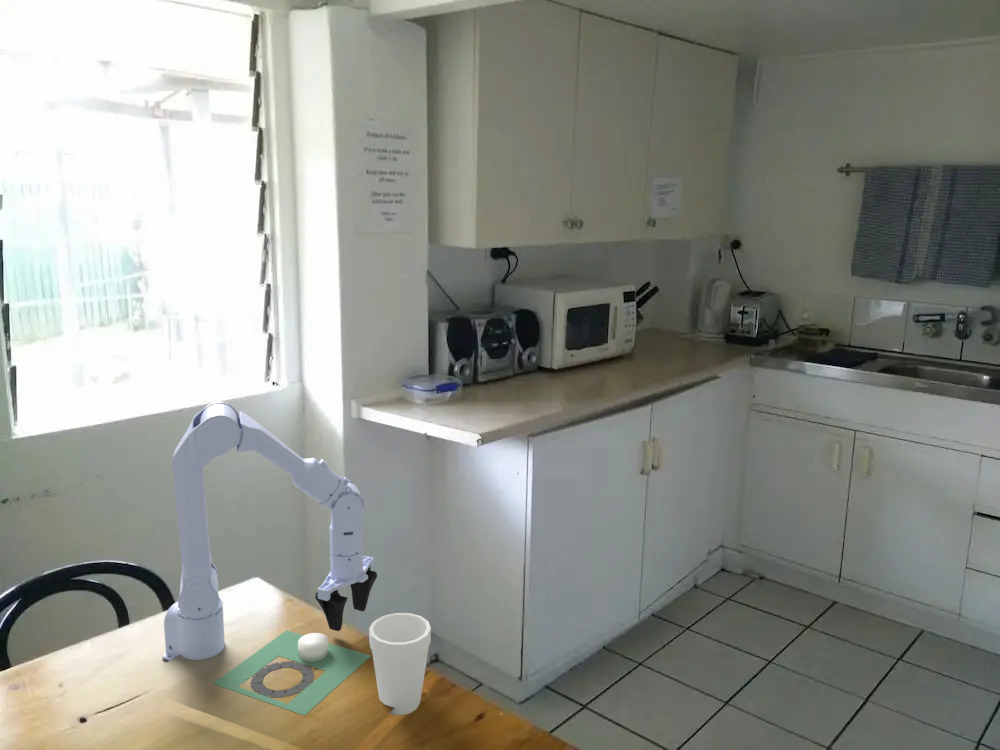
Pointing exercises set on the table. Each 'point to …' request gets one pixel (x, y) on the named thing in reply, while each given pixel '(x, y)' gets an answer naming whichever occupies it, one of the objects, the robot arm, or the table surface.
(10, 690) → the table surface
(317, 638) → the white smooth pebble
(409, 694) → the foam cup
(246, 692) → the mat
